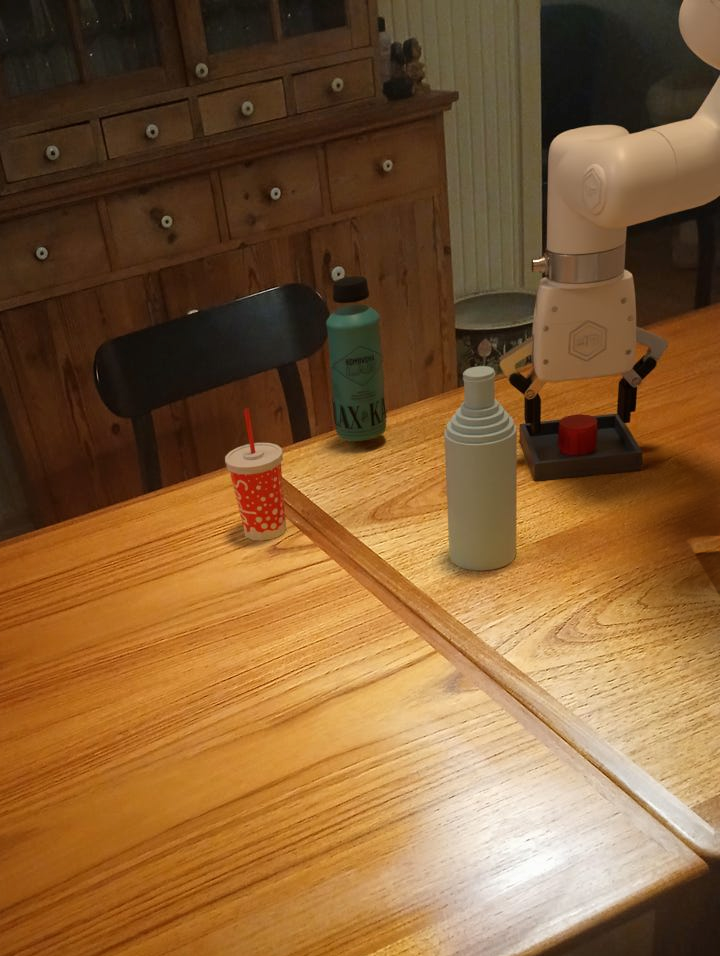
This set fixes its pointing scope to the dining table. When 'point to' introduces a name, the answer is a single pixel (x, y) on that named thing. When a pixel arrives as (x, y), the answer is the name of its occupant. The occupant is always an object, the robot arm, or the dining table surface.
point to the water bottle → (481, 477)
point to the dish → (608, 457)
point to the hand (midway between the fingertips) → (578, 423)
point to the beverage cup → (258, 486)
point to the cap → (577, 434)
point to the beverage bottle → (356, 363)
